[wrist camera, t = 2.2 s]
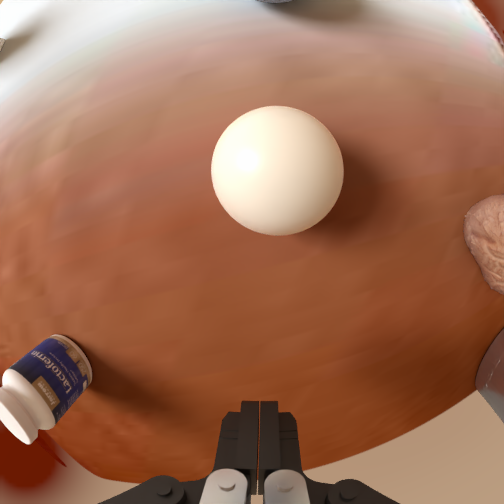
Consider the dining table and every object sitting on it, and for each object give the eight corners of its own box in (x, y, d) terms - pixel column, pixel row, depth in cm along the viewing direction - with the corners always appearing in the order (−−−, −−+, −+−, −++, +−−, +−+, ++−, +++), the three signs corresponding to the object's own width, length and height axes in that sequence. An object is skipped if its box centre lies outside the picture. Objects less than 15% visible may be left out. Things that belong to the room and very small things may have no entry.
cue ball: (327, 126, 14) (359, 93, 8) (326, 227, 15) (358, 249, 10) (224, 124, 15) (198, 88, 9) (223, 225, 16) (196, 246, 10)
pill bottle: (100, 361, 19) (35, 436, 9) (88, 393, 20) (37, 458, 11) (53, 320, 19) (-22, 375, 9) (46, 356, 20) (-12, 409, 10)
